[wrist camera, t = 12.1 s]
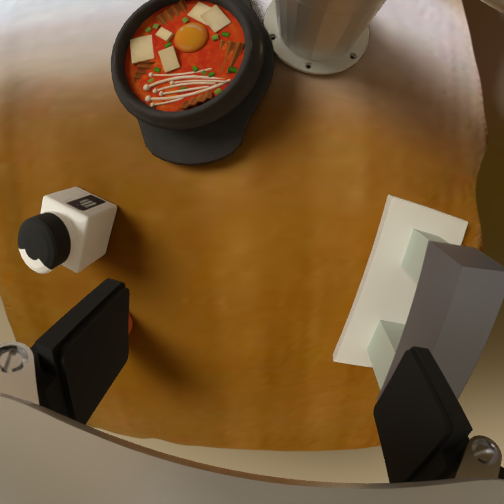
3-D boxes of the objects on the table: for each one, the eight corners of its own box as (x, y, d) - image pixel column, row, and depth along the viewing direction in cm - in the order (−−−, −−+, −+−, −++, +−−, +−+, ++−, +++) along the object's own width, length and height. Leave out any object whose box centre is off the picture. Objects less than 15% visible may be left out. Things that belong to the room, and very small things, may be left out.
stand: (388, 194, 37) (421, 211, 27) (462, 219, 37) (506, 242, 27) (332, 355, 45) (341, 405, 35) (402, 365, 44) (421, 411, 35)
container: (76, 185, 40) (14, 203, 28) (119, 205, 41) (62, 230, 28) (65, 233, 43) (8, 263, 30) (106, 254, 43) (53, 292, 31)
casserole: (273, 165, 37) (270, 170, 29) (127, 166, 39) (94, 173, 31) (275, -20, 29) (272, -53, 21) (136, -5, 31) (108, -28, 23)
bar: (428, 240, 28) (462, 266, 21) (474, 247, 27) (511, 272, 21) (377, 398, 34) (389, 440, 28) (418, 397, 34) (434, 436, 27)
